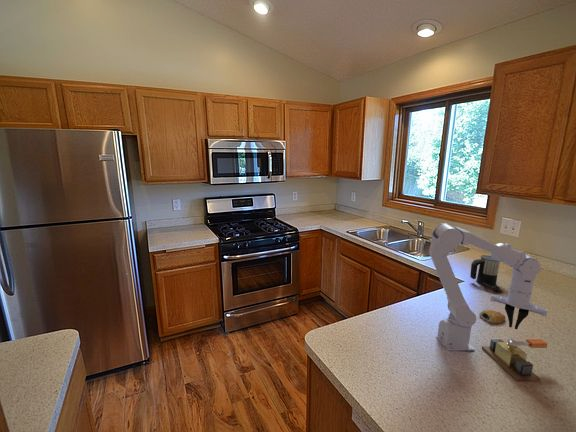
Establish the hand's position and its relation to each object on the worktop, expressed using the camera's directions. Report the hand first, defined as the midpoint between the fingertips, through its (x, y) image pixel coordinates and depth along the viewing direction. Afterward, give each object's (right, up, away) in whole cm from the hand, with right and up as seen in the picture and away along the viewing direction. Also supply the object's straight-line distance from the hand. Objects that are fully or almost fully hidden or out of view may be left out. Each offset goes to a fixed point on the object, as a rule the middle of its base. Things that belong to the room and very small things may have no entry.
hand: (513, 327), depth 95 cm
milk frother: (+31, 0, +55) cm, 63 cm away
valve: (-5, -10, -4) cm, 12 cm away
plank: (-5, -10, -4) cm, 12 cm away
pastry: (+9, -6, +23) cm, 25 cm away
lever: (0, -4, -5) cm, 6 cm away
